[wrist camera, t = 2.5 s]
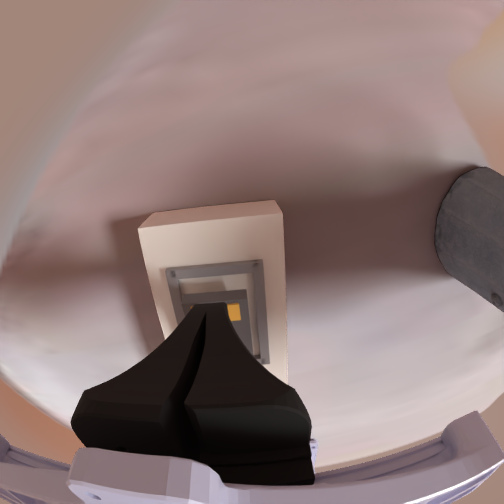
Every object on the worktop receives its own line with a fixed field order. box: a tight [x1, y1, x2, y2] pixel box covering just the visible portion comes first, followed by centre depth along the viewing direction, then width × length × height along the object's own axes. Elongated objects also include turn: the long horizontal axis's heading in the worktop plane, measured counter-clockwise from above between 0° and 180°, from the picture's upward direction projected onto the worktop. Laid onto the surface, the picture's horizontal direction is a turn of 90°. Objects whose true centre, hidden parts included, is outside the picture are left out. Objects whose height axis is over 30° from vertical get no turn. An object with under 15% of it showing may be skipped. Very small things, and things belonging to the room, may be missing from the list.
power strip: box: [138, 200, 288, 385], centre depth 19 cm, size 20×7×3 cm, turn 5°
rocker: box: [181, 289, 254, 356], centre depth 15 cm, size 5×3×1 cm, turn 4°
